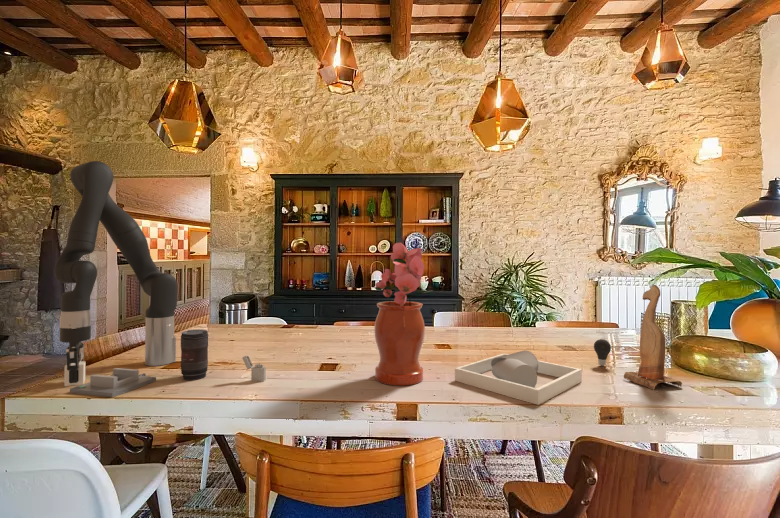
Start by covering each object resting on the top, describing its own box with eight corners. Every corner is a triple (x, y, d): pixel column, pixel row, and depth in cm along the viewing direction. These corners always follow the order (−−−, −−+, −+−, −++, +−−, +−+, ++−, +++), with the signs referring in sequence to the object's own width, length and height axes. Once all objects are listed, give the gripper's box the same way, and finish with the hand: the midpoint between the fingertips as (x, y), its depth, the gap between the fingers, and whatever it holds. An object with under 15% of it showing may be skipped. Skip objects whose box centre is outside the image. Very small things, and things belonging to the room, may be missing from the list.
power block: (125, 374, 129) (125, 362, 129) (163, 378, 125) (163, 365, 125) (69, 392, 111) (69, 378, 111) (112, 397, 108) (112, 382, 108)
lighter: (265, 380, 124) (266, 355, 124) (263, 381, 122) (263, 356, 122) (244, 379, 125) (244, 354, 125) (241, 381, 123) (242, 355, 123)
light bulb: (590, 364, 146) (590, 337, 146) (604, 364, 147) (604, 337, 147) (599, 368, 141) (599, 340, 141) (614, 368, 141) (614, 340, 141)
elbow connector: (477, 370, 133) (504, 389, 113) (483, 340, 134) (511, 354, 114) (523, 379, 136) (557, 399, 116) (530, 349, 137) (564, 365, 117)
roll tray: (503, 364, 146) (503, 353, 146) (581, 381, 125) (581, 369, 125) (454, 380, 125) (454, 368, 125) (538, 405, 105) (538, 390, 105)
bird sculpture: (647, 376, 131) (648, 283, 131) (683, 387, 120) (684, 285, 120) (622, 379, 127) (623, 283, 127) (657, 391, 116) (657, 285, 116)
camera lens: (176, 381, 122) (176, 334, 122) (185, 374, 130) (186, 329, 130) (203, 380, 123) (204, 333, 123) (211, 373, 131) (211, 329, 131)
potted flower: (425, 366, 142) (426, 243, 142) (437, 389, 116) (438, 240, 116) (373, 366, 141) (374, 242, 141) (374, 390, 115) (375, 239, 115)
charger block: (66, 382, 120) (67, 362, 120) (85, 380, 123) (85, 360, 123) (64, 386, 116) (64, 366, 116) (83, 383, 119) (83, 364, 119)
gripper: (64, 322, 124) (63, 376, 124) (55, 329, 112) (54, 389, 112) (93, 320, 128) (93, 372, 128) (87, 327, 116) (87, 384, 115)
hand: (75, 380), depth 120 cm, fingers closed on charger block, 4 cm apart
